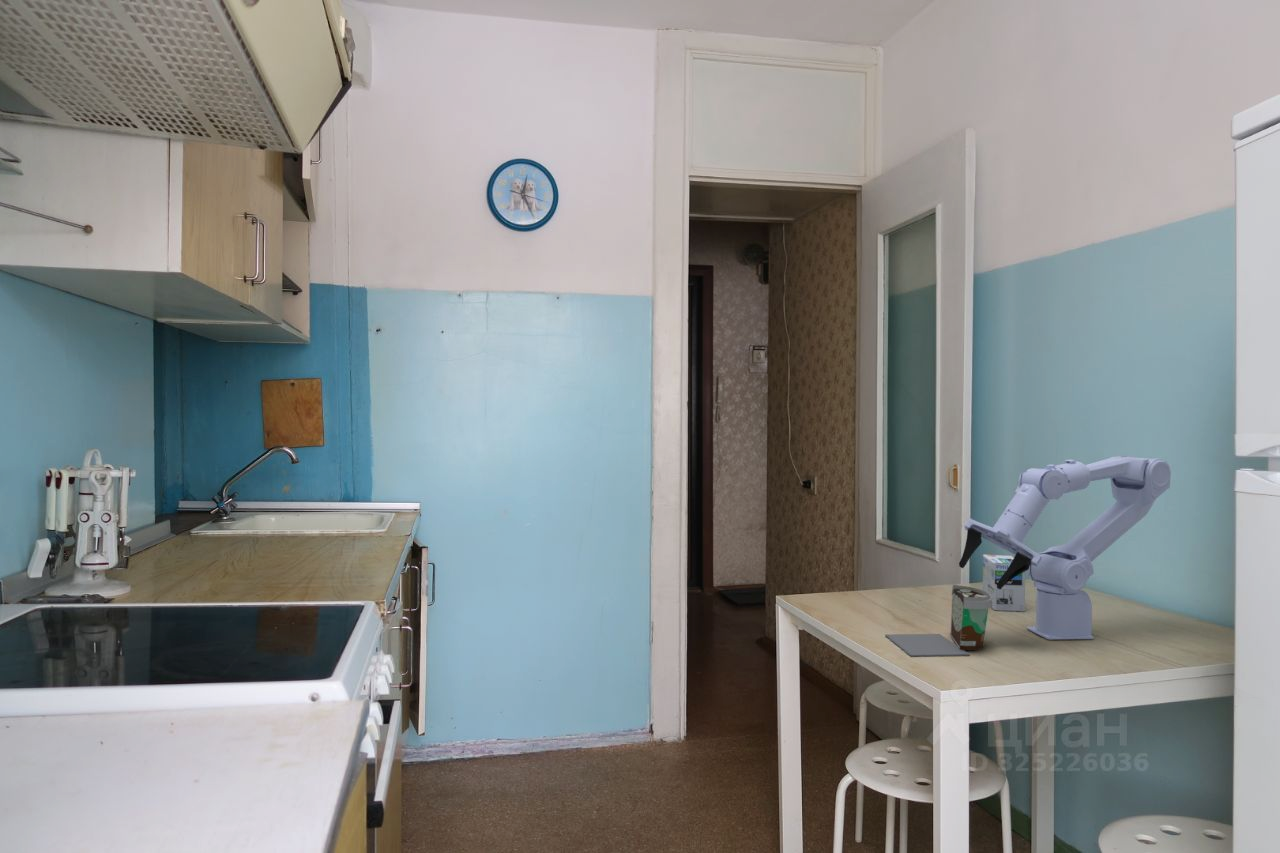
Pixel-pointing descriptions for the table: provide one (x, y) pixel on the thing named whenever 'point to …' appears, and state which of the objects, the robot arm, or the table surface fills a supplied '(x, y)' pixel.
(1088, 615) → the robot arm
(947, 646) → the mat
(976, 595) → the food container
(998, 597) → the light bulb box
